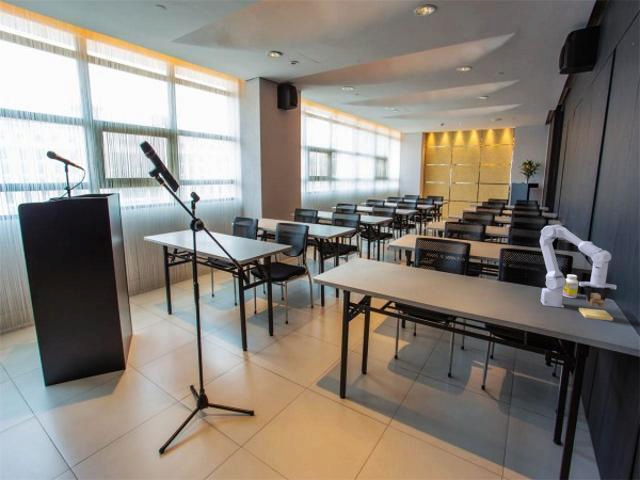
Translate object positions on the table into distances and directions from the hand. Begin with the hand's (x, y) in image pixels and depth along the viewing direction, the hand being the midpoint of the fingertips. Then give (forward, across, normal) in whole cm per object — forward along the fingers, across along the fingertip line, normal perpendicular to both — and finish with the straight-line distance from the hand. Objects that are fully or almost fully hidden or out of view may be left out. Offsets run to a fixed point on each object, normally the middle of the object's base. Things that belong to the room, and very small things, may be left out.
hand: (595, 301), depth 169 cm
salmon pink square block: (-2, 0, 0) cm, 2 cm away
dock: (+8, +1, +1) cm, 8 cm away
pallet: (+2, 0, 0) cm, 2 cm away
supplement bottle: (+8, -2, +30) cm, 31 cm away
